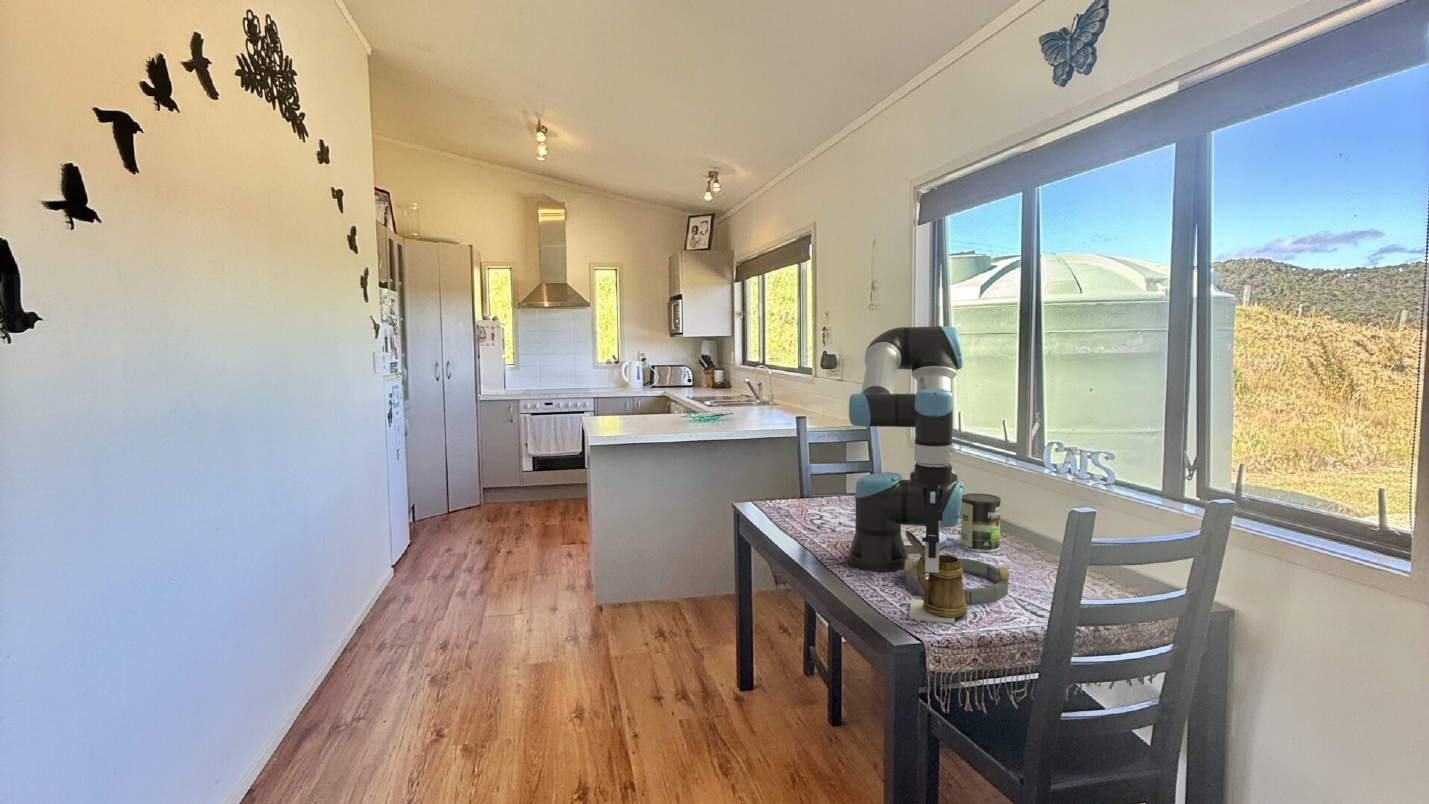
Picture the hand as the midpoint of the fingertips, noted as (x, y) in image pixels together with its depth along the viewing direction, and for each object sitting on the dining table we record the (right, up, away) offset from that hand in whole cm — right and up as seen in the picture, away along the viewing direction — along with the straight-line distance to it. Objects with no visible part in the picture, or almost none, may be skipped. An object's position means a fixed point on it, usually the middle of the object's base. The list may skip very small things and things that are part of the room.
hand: (932, 560), depth 145 cm
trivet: (0, -11, 0) cm, 11 cm away
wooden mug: (0, -11, 0) cm, 11 cm away
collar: (+11, -10, +16) cm, 21 cm away
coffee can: (+27, -7, +44) cm, 52 cm away
